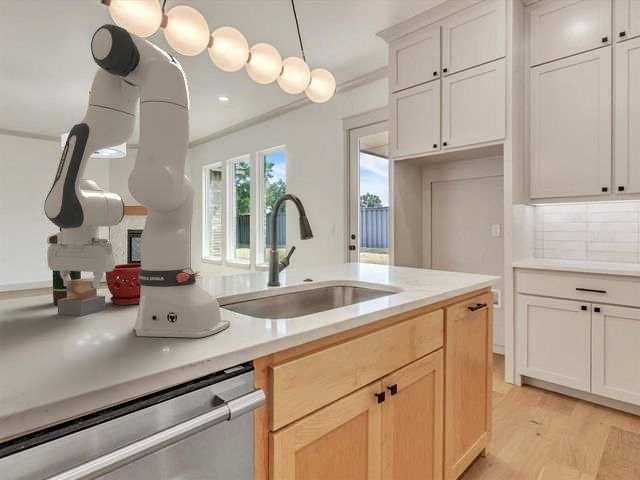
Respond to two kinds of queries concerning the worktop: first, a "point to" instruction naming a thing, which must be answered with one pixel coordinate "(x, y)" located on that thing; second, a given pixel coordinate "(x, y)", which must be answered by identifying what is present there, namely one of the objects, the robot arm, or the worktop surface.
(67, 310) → the block
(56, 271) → the beer bottle
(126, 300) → the plant pot
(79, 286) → the oak cube
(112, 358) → the worktop surface
